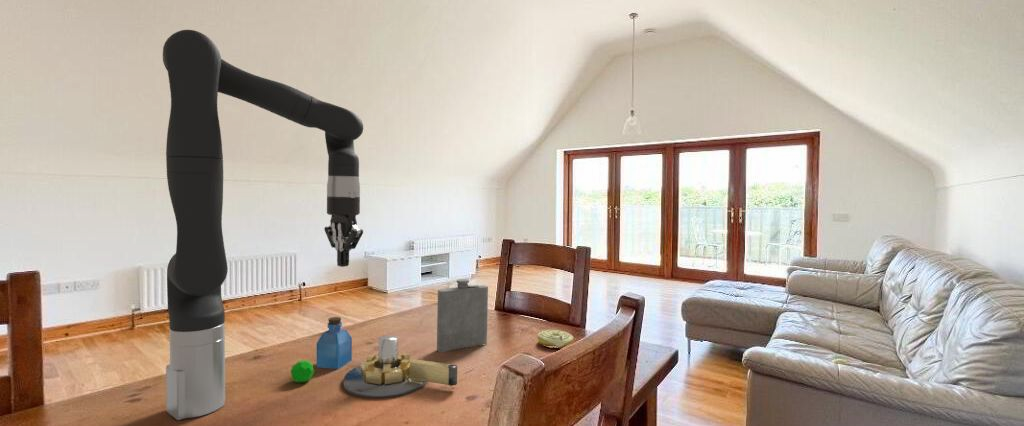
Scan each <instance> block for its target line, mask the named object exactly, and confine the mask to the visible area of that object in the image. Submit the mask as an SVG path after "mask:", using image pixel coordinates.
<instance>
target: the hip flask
mask: <svg viewBox="0 0 1024 426" xmlns="http://www.w3.org/2000/svg"><path fill="white" fill-rule="evenodd" d="M469 282H470V280H469V279H468V278H458V279H456V283H457V284H456V285H457V287H455V286H454V287H449V288H441V289H437V318H436V319H437V320H436V352H439V353H446V352H450V351H454V350H459V349H463V348H464V347H465V348H471V347H478V346H477V345H480V346H484V345H483V344H486V343H487V344H488V312H489V311H488V310H489V308H488V307H489V306H488V305H489V303H488V302H489V299H488V298H489V286H488V285H483V284H482V285H478V284H476V285H475V284H472V285H471V284H469ZM487 344H486V345H487ZM470 346H471V347H470ZM465 348H464V349H465Z"/></svg>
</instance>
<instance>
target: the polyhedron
mask: <svg viewBox="0 0 1024 426" xmlns="http://www.w3.org/2000/svg"><path fill="white" fill-rule="evenodd" d="M290 374H291V378H292V380H293V381H294V382H296V383H297V384H298V383H300V384H301V383H306V382H307V381H308V380H309V379H310V380H311V378H313V375H314V374H315V369H314V366H313V363H312V362H310V361H309V360H306V359H305V360H304V359H303V360H300V361H298V362H297V363H295V364H293V365H292V367H291V369H290Z"/></svg>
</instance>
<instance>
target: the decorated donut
mask: <svg viewBox="0 0 1024 426" xmlns="http://www.w3.org/2000/svg"><path fill="white" fill-rule="evenodd" d="M537 341H538V343H539V344H540V345H541V344H542V345H545V346H556V347H558V348H559V349H558V350H562V349H561V348H563V347H565V346H567V345H569V344H571V343H573V344H574V342H573V341H574V336H573V335H572V334H570V333H569V332H567V331H564V330H560V329H544V330H541V331H540V332H539V333H538V334H537ZM542 345H541V346H542Z"/></svg>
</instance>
